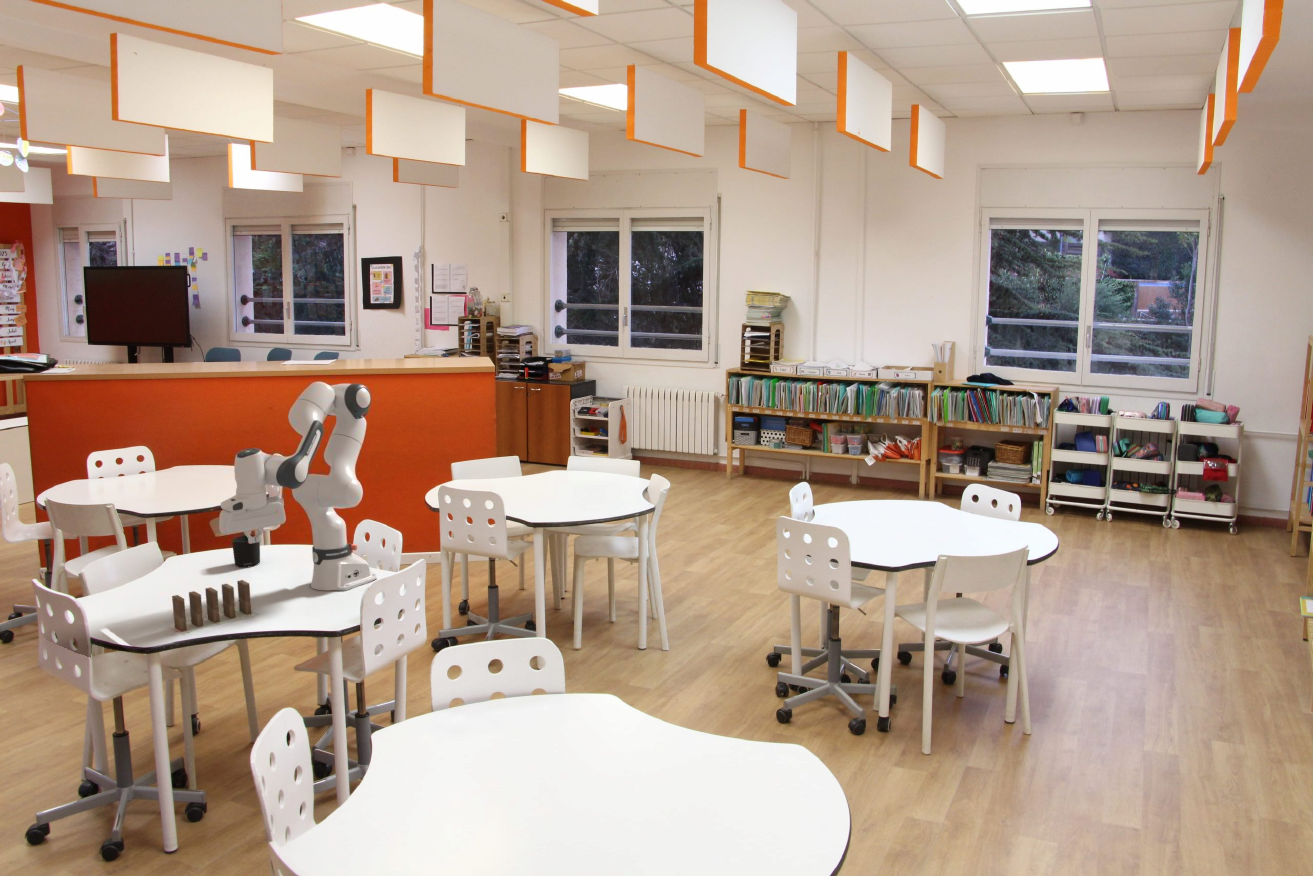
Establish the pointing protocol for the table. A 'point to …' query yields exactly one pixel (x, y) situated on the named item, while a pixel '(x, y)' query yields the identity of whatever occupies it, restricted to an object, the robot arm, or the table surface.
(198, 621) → the domino
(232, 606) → the domino
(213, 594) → the domino
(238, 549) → the pen holder
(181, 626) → the end domino
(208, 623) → the domino board
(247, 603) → the domino
